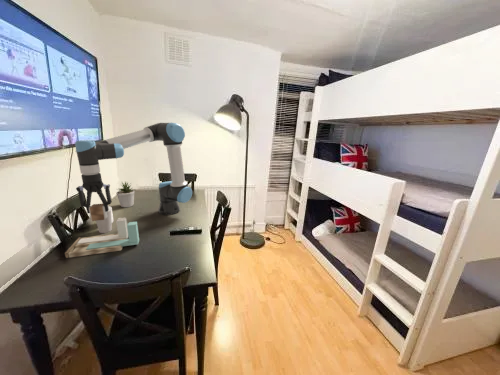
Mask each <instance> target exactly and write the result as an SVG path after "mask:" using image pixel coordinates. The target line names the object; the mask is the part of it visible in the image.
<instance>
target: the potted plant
mask: <svg viewBox="0 0 500 375" xmlns="http://www.w3.org/2000/svg"><path fill="white" fill-rule="evenodd" d="M131 186H132V182H131V183H130V184H129V182H124V183H123V182H121V187H122V188H119V187H118V188H117V191H116V194H115V195H116V196H117V199H118V202H119V205H120V207H122V208H129V207H130V208H131V207H132V206H134V204H135V202H134V201H135V190H136V188H134V189H133V187H131Z"/></svg>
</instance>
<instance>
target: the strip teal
mask: <svg viewBox="0 0 500 375" xmlns="http://www.w3.org/2000/svg"><path fill="white" fill-rule="evenodd" d="M127 229H128V238H127V239H126V240H118V241H110V242H102V243H94V244H89V246H88V247H87V249H86V250H90V249H97V248H105V247H112V246H120V245H121V246H123V247H127V246H129V247H130V246H134V245H136V246H137V245H139V242H140V237H139V236H140V235H139V226H138V221H129V222H128V221H127Z"/></svg>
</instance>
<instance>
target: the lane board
mask: <svg viewBox="0 0 500 375" xmlns="http://www.w3.org/2000/svg"><path fill="white" fill-rule="evenodd" d="M110 235H118V233H112V234H103V235H102V234H101V235H93V236H87V237H86V236H85V237H80V236H79V237H78V238H77V239H76V240H75V241H74V242H73V243H72V244H71V246H70V247H68V249H67V250H66V251H65V252H64V256H65V259H68V258H75V257H83V256H88V255H89V256H90V255H91V256H92V255H97V254H104V253H111V252H113V253H114V252H118V251H119V252H120V251H122V250H123V248H124V246H121V245H120V246H112V247H105V248H97V249H90V250H86V249H87V247H88V246H89V244H94V243H102V242H110V241H118V240H125V238H124V239H116V240H108V241H100V242H92V243H84V244H77V243H78V241H79V240H80V239H84V238H93V237H101V236H110Z"/></svg>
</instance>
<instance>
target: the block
mask: <svg viewBox="0 0 500 375" xmlns="http://www.w3.org/2000/svg"><path fill="white" fill-rule="evenodd" d="M90 206H91V207H90V213H91V217H90V219H91V218H92V220H91V221H92V222H94V221H95V222H96V221H98V220H104V213H103V208H102V206H103V203H95V204H94V203H93V204H92V205H90ZM90 213H89V214H90Z"/></svg>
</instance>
